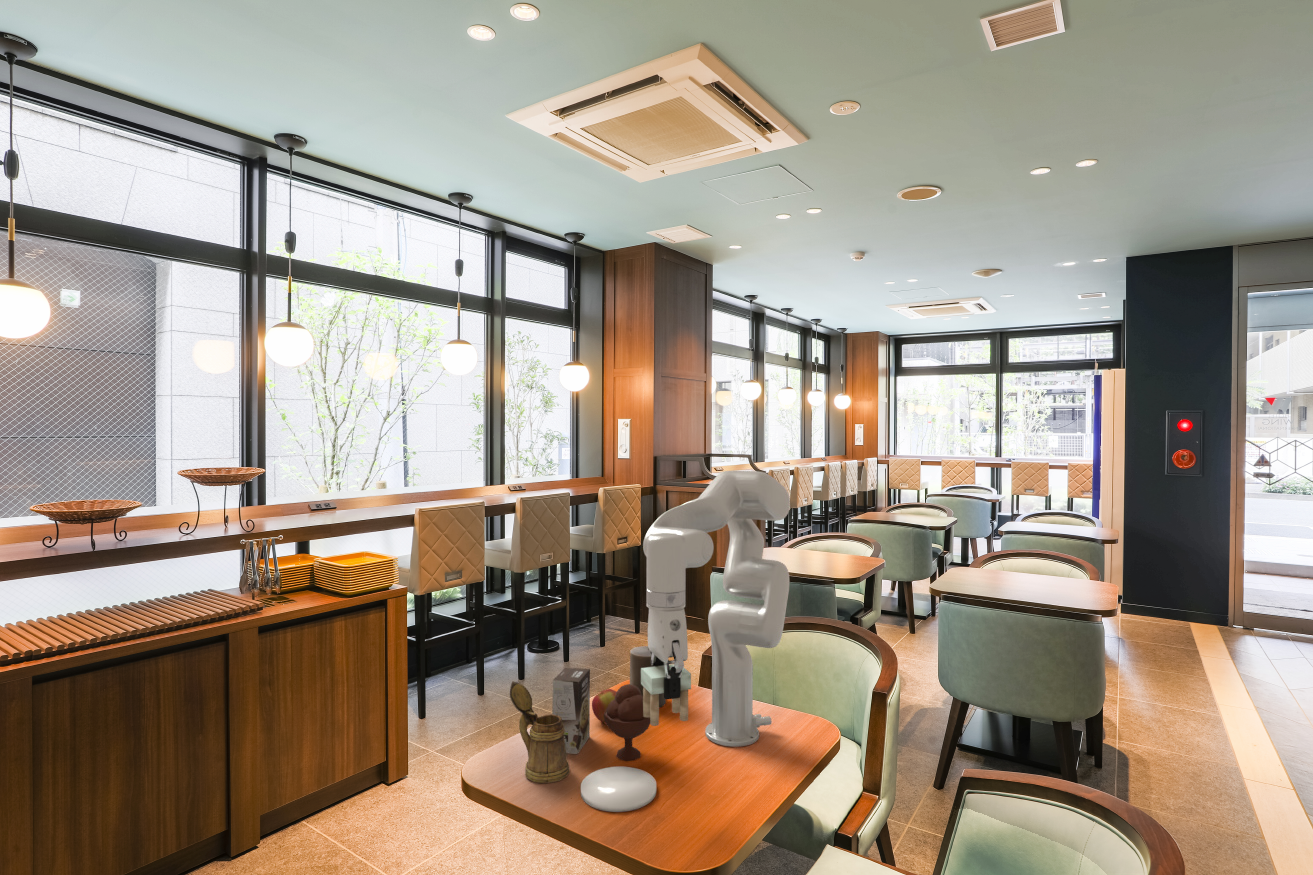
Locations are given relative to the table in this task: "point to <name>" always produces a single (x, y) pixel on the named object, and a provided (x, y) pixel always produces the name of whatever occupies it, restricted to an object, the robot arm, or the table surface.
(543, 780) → the wooden mug
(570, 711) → the coffee box
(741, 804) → the table surface
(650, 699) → the mint green stool
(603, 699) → the apple
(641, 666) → the pillar candle
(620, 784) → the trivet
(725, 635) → the robot arm
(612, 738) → the table surface
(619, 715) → the ice cream bowl
